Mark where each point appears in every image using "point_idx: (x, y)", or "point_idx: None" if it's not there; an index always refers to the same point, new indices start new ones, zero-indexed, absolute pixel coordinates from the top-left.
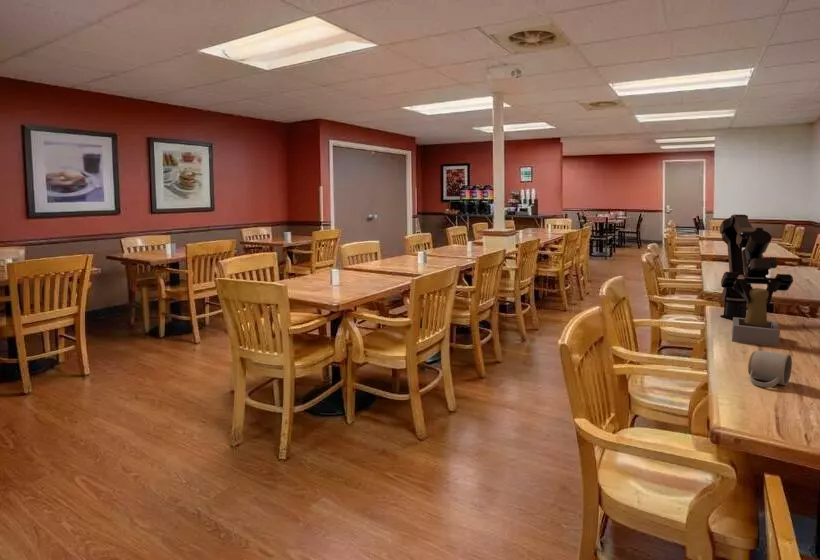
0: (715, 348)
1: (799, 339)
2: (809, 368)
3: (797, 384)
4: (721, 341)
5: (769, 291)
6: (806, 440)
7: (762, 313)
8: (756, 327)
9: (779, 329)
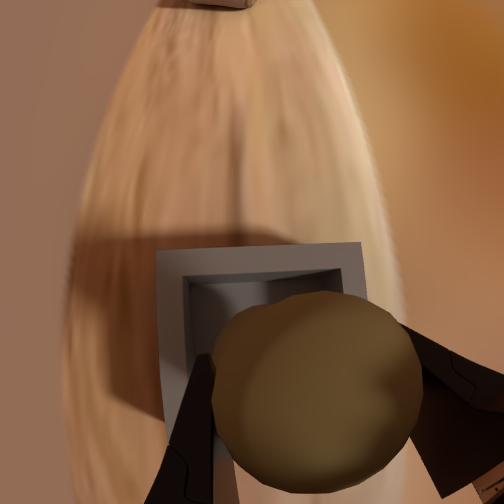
0: (360, 141)
1: (100, 422)
2: (125, 83)
3: (178, 6)
4: (364, 234)
5: (205, 460)
6: None
7: (245, 319)
8: (262, 261)
9: (156, 276)
